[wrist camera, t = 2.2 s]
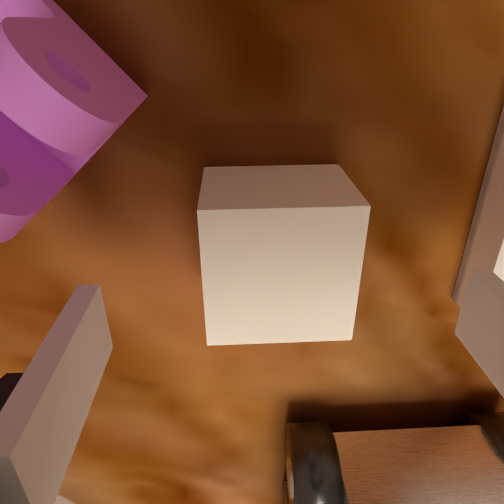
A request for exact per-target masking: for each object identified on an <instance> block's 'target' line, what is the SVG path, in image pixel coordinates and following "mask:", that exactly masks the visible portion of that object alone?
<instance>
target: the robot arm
mask: <svg viewBox="0 0 504 504" xmlns="http://www.w3.org/2000/svg"><path fill="white" fill-rule="evenodd" d="M454 333H455V334H456V336H457V337H458V338H459V340H460V341H461V342H462V344H463V345H464V346H465V348H466V349H467V350H468V352H469V353H470V354H471V356H472V357H473V358H474V359H475V361H476V362H477V363H478V365H479V366H480V367H481V369H482V370H483V371H484V373H485V374H486V375H487V377H488V378H489V379H490V381H491V382H492V383H493V385H494V386H495V387H496V389H497V390H498V391H499V393H500V394H501V395H502V397H503V398H504V281H503V280H501V279H500V278H499V277H498V276H497V275H496V274H495V273H494V272H493V271H471V273H470V276H469V280H468V284H467V288H466V291H465V295H464V299H463V302H462V306H461V310H460V314H459V317H458V321H457V325H456V329H455V332H454ZM112 348H113V344H112V340H111V335H110V330H109V326H108V321H107V317H106V312H105V307H104V303H103V298H102V293H101V289H100V285H79V286H77V287H76V288H75V290H74V292H73V293H72V295H71V297H70V298H69V300H68V302H67V303H66V305H65V306H64V308H63V310H62V311H61V313H60V315H59V316H58V318H57V320H56V321H55V323H54V325H53V326H52V328H51V329H50V331H49V333H48V334H47V336H46V338H45V339H44V341H43V343H42V344H41V346H40V347H39V349H38V351H37V352H36V354H35V356H34V357H33V359H32V361H31V362H30V364H29V365H28V367H27V369H26V370H25V372H24V373H7V374H5V375H4V376H3V377H2V378H1V379H0V504H54V503H55V500H56V497H57V495H58V492H59V489H60V487H61V484H62V481H63V479H64V476H65V473H66V471H67V468H68V465H69V463H70V460H71V457H72V455H73V452H74V449H75V447H76V444H77V441H78V439H79V436H80V433H81V431H82V428H83V426H84V423H85V420H86V418H87V415H88V412H89V410H90V407H91V404H92V402H93V399H94V396H95V394H96V391H97V388H98V386H99V383H100V380H101V378H102V375H103V372H104V370H105V367H106V364H107V362H108V359H109V356H110V354H111V351H112Z"/></svg>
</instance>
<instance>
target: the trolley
mask: <svg viewBox="0 0 504 504" xmlns="http://www.w3.org/2000/svg"><path fill="white" fill-rule="evenodd" d="M285 459H286V475H287V481H285V482H284V483H283V504H504V412H491V413H471V414H464V415H462V416H461V417H460V418H459V419H458V421H457V423H456V426H452V427H432V428H413V429H394V430H374V431H355V432H336V433H333V431H332V429H331V426H330V424H329V423H328V422H327V421H313V422H293V423H287V424H286V429H285Z"/></svg>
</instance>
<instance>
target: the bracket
mask: <svg viewBox="0 0 504 504" xmlns="http://www.w3.org/2000/svg"><path fill="white" fill-rule="evenodd" d="M147 97H148V95H147V94H146V93H145V92H144V91H143V90H142V89H141V88H140V87H139V86H138V85H137V84H136V83H135V82H134V81H133V80H132V79H131V78H130V77H129V76H128V75H127V74H126V73H125V72H124V71H123V70H122V69H121V68H120V67H119V66H118V65H117V64H116V63H115V62H114V61H113V60H112V59H111V58H110V57H109V56H108V55H107V54H106V53H105V52H104V51H103V50H102V49H101V48H100V47H99V46H98V45H97V44H96V43H95V42H94V41H93V40H92V39H91V38H90V37H89V36H88V35H87V34H86V33H85V32H84V31H83V30H82V29H81V28H80V27H79V26H78V25H77V24H76V23H75V22H74V21H73V20H72V19H71V18H70V17H69V16H68V15H67V14H66V13H65V12H64V11H63V10H62V9H61V8H60V7H59V6H58V5H57V4H56V3H55V2H54V1H53V0H0V243H1V242H5V241H8V240H10V239H12V238H13V237H14V236H15V235H16V234H17V233H18V232H19V231H20V230H21V229H22V228H23V227H24V226H25V225H26V224H27V223H28V222H29V221H30V220H31V219H32V218H33V217H34V216H35V215H36V214H37V213H38V212H39V211H40V210H41V209H42V208H43V207H44V206H45V205H46V204H47V203H48V202H49V201H50V200H51V199H52V198H53V197H54V196H55V195H56V194H57V193H58V192H59V191H60V190H61V189H62V188H63V187H64V186H65V185H66V184H67V183H68V182H69V181H70V180H71V179H72V178H73V177H74V176H75V175H76V174H77V172H78V171H79V170H80V169H81V168H82V167H83V166H84V165H85V164H86V163H87V162H88V161H89V159H90V158H91V157H92V156H93V155H94V154H95V153H96V152H97V151H98V150H99V149H100V148H101V146H102V145H103V144H104V143H105V142H106V141H107V140H108V139H109V138H110V137H111V136H112V135H113V133H114V132H115V131H116V130H117V129H118V128H119V127H120V126H121V125H122V124H123V123H124V122H125V120H126V119H127V118H128V117H129V116H130V115H131V114H132V113H133V112H134V111H135V110H136V109H137V107H138V106H139V105H140V104H141V103H142V102H143V101H144V100H145V99H146V98H147Z"/></svg>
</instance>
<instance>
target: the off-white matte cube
mask: <svg viewBox="0 0 504 504" xmlns="http://www.w3.org/2000/svg"><path fill="white" fill-rule="evenodd" d="M370 208H371V206H370V204H369V203H368V202H367V200H366V199H365V198H364V197H363V195H362V194H361V193H360V191H359V190H358V189H357V188H356V186H355V185H354V184H353V183H352V181H351V180H350V179H349V177H348V176H347V175H346V174H345V172H344V171H343V170H342V168H341V167H340V166H339V165H338V164H324V165H276V166H228V167H204V171H203V177H202V183H201V189H200V194H199V200H198V206H197V219H198V232H199V246H200V259H201V272H202V285H203V298H204V312H205V325H206V338H207V346H208V345H235V344H261V343H287V342H313V341H339V340H352V335H353V328H354V321H355V314H356V307H357V300H358V293H359V285H360V278H361V271H362V264H363V257H364V250H365V243H366V236H367V229H368V222H369V215H370Z"/></svg>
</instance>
